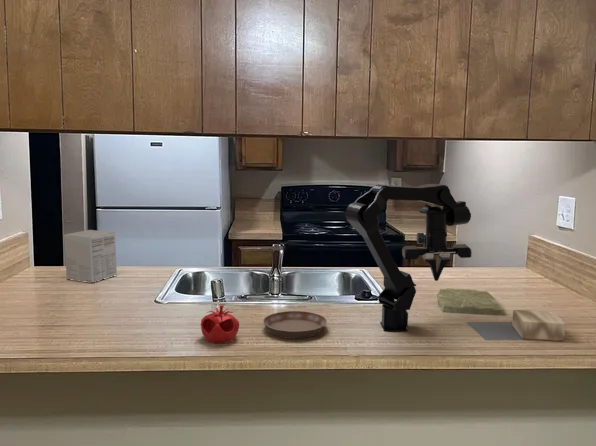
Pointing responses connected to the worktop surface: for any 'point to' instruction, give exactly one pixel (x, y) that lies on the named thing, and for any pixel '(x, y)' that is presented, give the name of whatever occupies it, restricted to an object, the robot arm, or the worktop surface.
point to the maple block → (538, 325)
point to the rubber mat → (497, 331)
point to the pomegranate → (219, 326)
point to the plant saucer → (294, 324)
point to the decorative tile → (468, 302)
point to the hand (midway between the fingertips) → (436, 280)
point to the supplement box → (90, 255)
